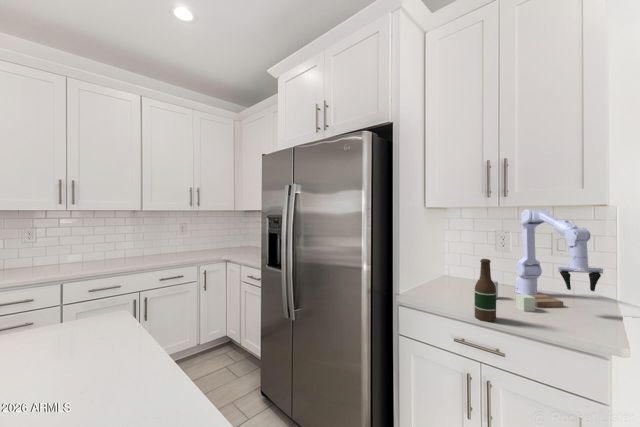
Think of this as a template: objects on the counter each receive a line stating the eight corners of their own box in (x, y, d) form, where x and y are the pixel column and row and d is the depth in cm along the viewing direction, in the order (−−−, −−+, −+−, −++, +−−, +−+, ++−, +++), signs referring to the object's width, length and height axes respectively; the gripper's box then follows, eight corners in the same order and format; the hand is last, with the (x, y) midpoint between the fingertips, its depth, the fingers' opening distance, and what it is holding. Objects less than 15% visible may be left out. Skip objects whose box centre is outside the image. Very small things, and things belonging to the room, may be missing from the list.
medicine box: (493, 296, 151) (493, 279, 151) (498, 299, 147) (498, 281, 147) (477, 296, 152) (477, 279, 152) (481, 298, 148) (481, 281, 148)
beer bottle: (488, 323, 116) (488, 261, 115) (470, 317, 123) (470, 258, 122) (500, 320, 119) (501, 259, 119) (482, 314, 126) (482, 257, 126)
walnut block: (518, 300, 146) (518, 294, 146) (542, 300, 147) (542, 294, 146) (537, 308, 134) (537, 302, 134) (563, 308, 135) (563, 301, 134)
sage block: (515, 307, 134) (515, 294, 134) (526, 307, 134) (526, 294, 134) (523, 311, 129) (523, 297, 129) (535, 311, 129) (535, 297, 129)
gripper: (559, 257, 125) (561, 290, 124) (605, 258, 119) (607, 293, 118) (555, 256, 131) (556, 287, 130) (598, 257, 125) (600, 290, 124)
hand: (580, 290), depth 124 cm, fingers open, 7 cm apart
